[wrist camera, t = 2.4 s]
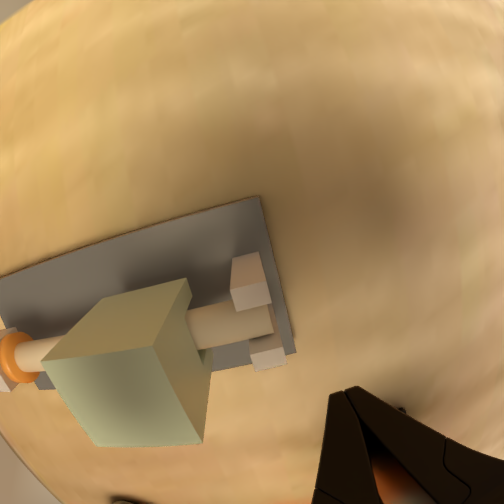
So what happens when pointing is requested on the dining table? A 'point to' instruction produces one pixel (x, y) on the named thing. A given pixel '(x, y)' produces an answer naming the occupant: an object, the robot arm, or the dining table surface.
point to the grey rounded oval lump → (122, 502)
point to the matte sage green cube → (135, 370)
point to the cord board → (153, 273)
